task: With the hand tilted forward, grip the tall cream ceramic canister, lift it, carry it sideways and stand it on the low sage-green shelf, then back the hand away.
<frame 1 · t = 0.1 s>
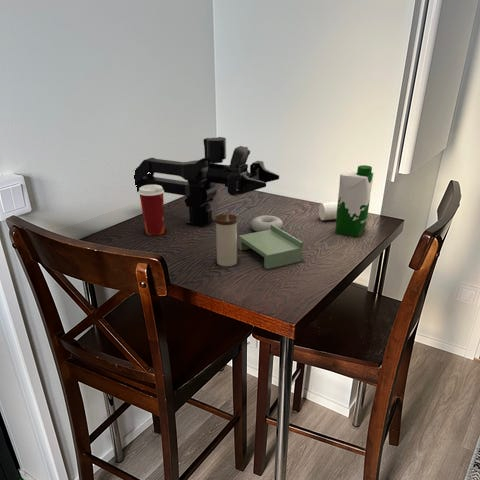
hand: (272, 181, 141), 17 cm above the table, tool horizontal, fingers open, 9 cm apart
shelf: (269, 254, 136), on the table
paper cup: (155, 232, 152), on the table
canister: (227, 262, 132), on the table
milk carton: (350, 232, 152), on the table
donut: (266, 230, 154), on the table
roll: (338, 219, 162), on the table
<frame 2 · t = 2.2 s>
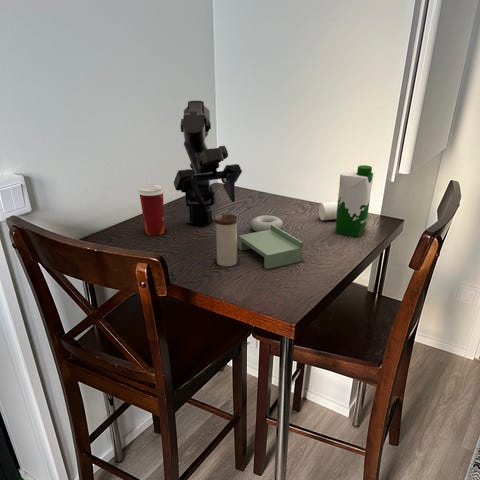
hand: (219, 203, 131), 14 cm above the table, tool tilted 50°, fingers open, 9 cm apart
nothing on the table moved.
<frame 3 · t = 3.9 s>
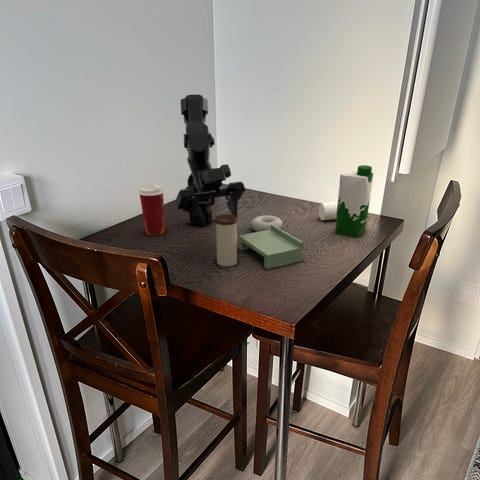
hand: (220, 223, 129), 10 cm above the table, tool tilted 45°, fingers open, 9 cm apart
nothing on the table moved.
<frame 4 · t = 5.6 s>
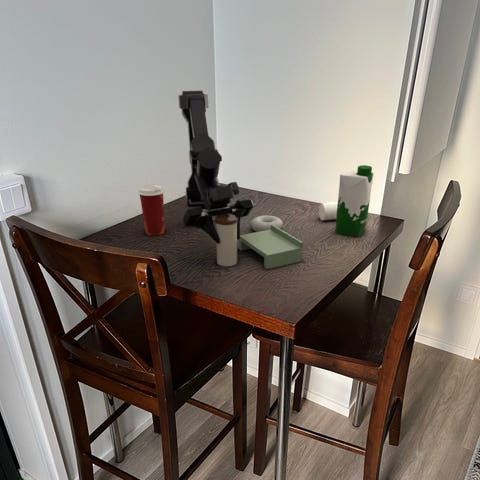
hand: (228, 241, 127), 7 cm above the table, tool tilted 45°, fingers closed on canister, 5 cm apart
canister: (227, 262, 132), on the table, touching gripper
everything else where it was.
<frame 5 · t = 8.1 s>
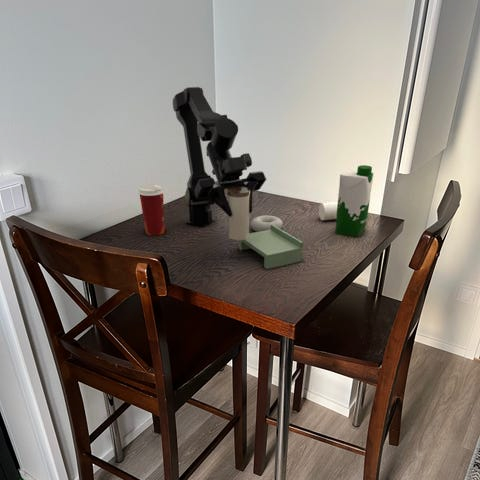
hand: (240, 214, 125), 13 cm above the table, tool tilted 45°, fingers closed on canister, 5 cm apart
canister: (238, 236, 130), point 7 cm above the table, touching gripper
everything else where it was.
when the fingers open (11 cm above the table, at t = 10.8 s): canister stays where it is, resting on shelf.
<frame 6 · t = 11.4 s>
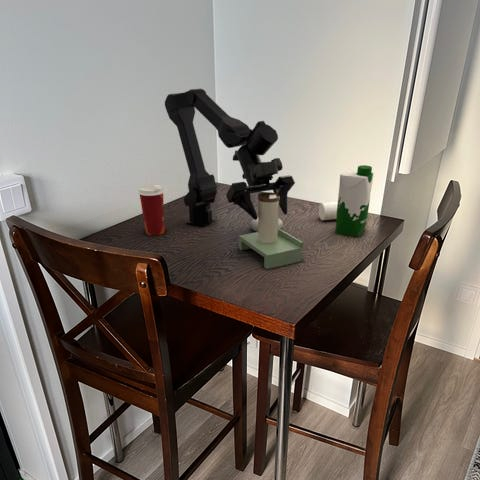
hand: (271, 216, 130), 11 cm above the table, tool tilted 45°, fingers open, 9 cm apart
canister: (267, 240, 135), point 4 cm above the table, touching shelf
everything else where it was.
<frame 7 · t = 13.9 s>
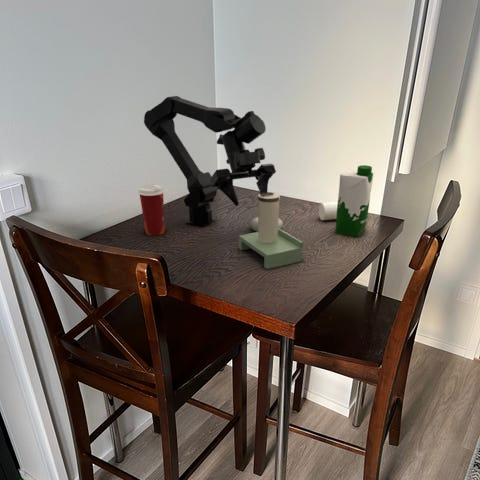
hand: (251, 203, 138), 12 cm above the table, tool tilted 40°, fingers open, 9 cm apart
nothing on the table moved.
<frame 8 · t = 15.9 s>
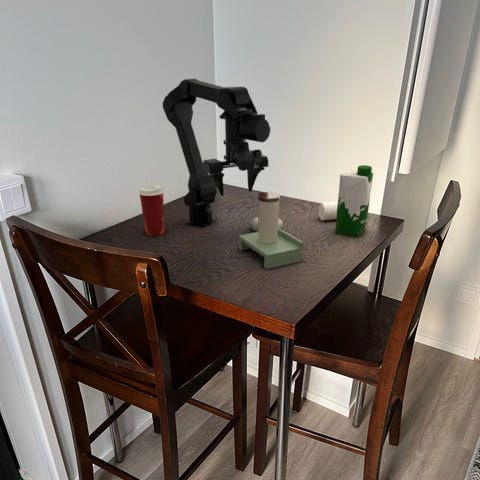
hand: (236, 193, 142), 13 cm above the table, tool pointing down, fingers open, 9 cm apart
nothing on the table moved.
at the end: canister inside the target area on the shelf (1.2 cm from its centre), point 4.0 cm above the shelf's base; canister tilted 0°; the gripper is holding nothing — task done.
